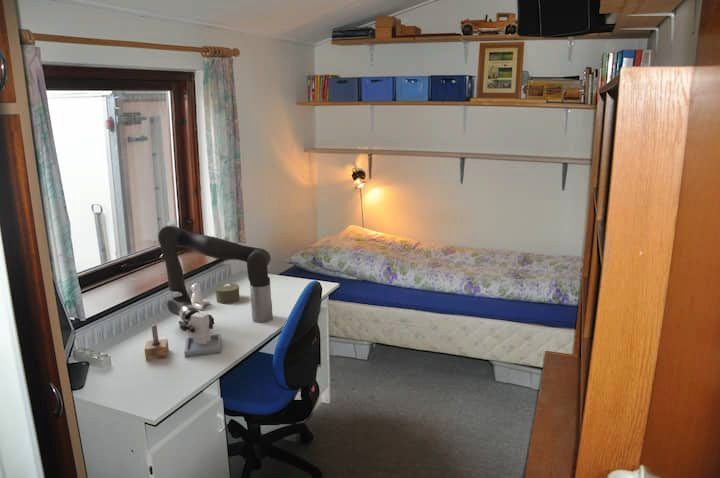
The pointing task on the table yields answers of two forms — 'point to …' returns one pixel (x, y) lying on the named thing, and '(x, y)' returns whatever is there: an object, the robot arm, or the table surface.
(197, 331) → the skincare box
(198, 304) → the white creature statuette
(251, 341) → the table surface
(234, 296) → the can
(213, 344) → the tray
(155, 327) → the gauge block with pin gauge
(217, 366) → the table surface
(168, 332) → the table surface
